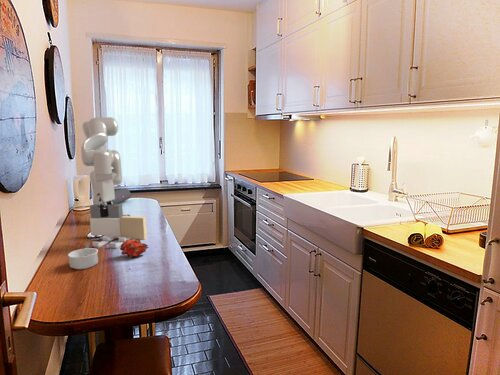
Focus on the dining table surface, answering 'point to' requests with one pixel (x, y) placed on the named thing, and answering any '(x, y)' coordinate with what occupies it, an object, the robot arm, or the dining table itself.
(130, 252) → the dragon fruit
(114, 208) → the grey metal block
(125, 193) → the bluetooth speaker
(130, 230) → the white rack
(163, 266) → the dining table surface
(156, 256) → the dining table surface
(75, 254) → the saucepan
